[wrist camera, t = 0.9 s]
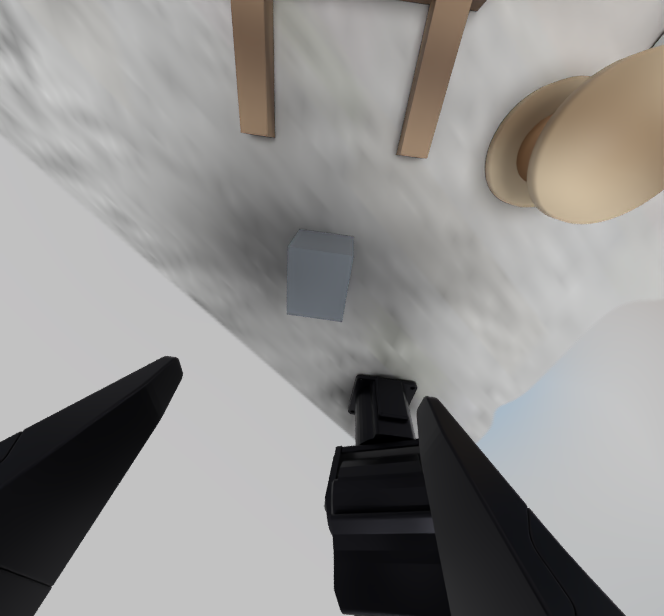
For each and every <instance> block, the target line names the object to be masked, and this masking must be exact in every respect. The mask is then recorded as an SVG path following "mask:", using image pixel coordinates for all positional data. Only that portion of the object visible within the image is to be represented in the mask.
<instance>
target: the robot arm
mask: <svg viewBox="0 0 664 616" xmlns="http://www.w3.org/2000/svg"><path fill="white" fill-rule="evenodd" d="M182 376H183V372H182V368H181V365H180V362H179V359H178V358H176V357H171V356H164V357H162V358H160V359H158V360H156V361H154V362H152V363H151V364H148V365H147V366H145V367H143V368H141V369H139V370H137V371H135V372H133V373H131V374H129V375H127V376H126V377H124V378H122V379H120V380H118V381H116V382H115V383H112V384H110V385H109V386H107V387H105V388H103V389H101V390H99V391H97V392H95V393H93V394H91V395H89V396H87V397H85V398H84V399H82V400H80V401H78V402H76V403H74V404H72V405H70V406H68V407H66V408H64V409H63V410H61V411H59V412H57V413H55V414H53V415H51V416H49V417H47V418H45V419H43V420H42V421H40V422H38V423H36V424H34V425H32V426H30V427H28V428H26V429H25V430H24V431H23V432H19V433H16V434H15V435H13V436H11V437H9V438H7V439H5V440H3V441H1V442H0V616H34V615H35V613H36V611H37V610H38V608H39V607H40V605H41V604H42V602H43V601H44V599H45V598H46V596H47V594H48V593H49V591H50V590H51V588H52V587H51V586H53V585H54V583H55V582H56V580H57V579H58V577H59V576H60V574H61V572H62V571H63V569H64V568H65V566H66V564H67V563H68V562H69V560H70V559H71V557H72V556H73V554H74V552H75V551H76V549H77V548H78V546H79V545H80V543H81V542H82V540H83V539H84V537H85V535H86V534H87V532H88V531H89V529H90V528H91V526H92V525H93V523H94V522H95V520H96V518H97V517H98V515H99V514H100V512H101V511H102V509H103V508H104V506H105V505H106V503H107V501H108V500H109V498H110V497H111V495H112V494H113V492H114V491H115V489H116V488H117V486H118V485H119V483H120V482H121V480H122V478H123V477H124V475H125V474H126V472H127V471H128V469H129V468H130V466H131V465H132V463H133V462H134V460H135V458H136V457H137V455H138V454H139V452H140V451H141V449H142V448H143V446H144V444H145V443H146V441H147V440H148V438H149V437H150V435H151V434H152V432H153V431H154V429H155V428H156V426H157V424H158V423H159V421H160V420H161V418H162V416H163V414H164V412H165V410H166V408H167V407H168V405H169V403H170V401H171V399H172V397H173V395H174V393H175V391H176V389H177V387H178V385H179V383H180V381H181V379H182ZM416 390H417V385H416V383H415V382H409V381H402V380H394V379H387V378H380V377H373V376H365V375H358V376H357V377H356V380H355V384H354V388H353V392H352V396H351V399H350V403H349V407H348V412H349V413H350V414H355V433H356V446H347V447H342V446H337V447H336V450H335V455H334V457H333V462H332V467H331V471H330V476H329V481H328V486H327V491H326V496H325V511H326V512H327V520H328V526H329V529H330V532H331V534H332V536H333V549H334V591H335V594H336V597H337V601H338V604H339V607H340V610H341V612H342V613H343V614H347V615H354V616H625V614H624V613H623V612H622V611H621V610H620V609H619V608H618V607H617V606H616V605H615V604H614V603H613V602H612V600H611V599H610V598H609V597H608V596H607V595H606V594H605V593H604V592H603V591H602V590H601V589H600V588H599V587H598V585H597V584H596V583H595V582H594V581H593V580H592V579H591V578H590V577H589V576H588V575H587V573H586V572H585V571H584V570H583V569H582V568H581V567H580V566H579V565H578V564H577V563H576V561H575V560H574V559H573V558H572V557H571V556H570V555H569V554H568V552H566V550H565V549H564V548H563V547H562V546H561V545H560V543H559V542H558V541H557V540H556V539H555V538H554V536H553V535H552V534H551V533H550V532H549V531H548V530H547V528H546V527H545V526H544V525H543V524H542V523H541V521H540V520H539V519H538V518H537V517H536V515H535V514H534V513H533V512H532V511H531V509H530V508H527V505H526V504H525V502H524V501H523V500H522V499H521V498H520V496H519V495H518V494H517V493H516V492H515V490H514V489H513V488H512V487H511V486H510V485H509V483H508V482H507V481H506V480H505V478H504V477H503V476H502V475H501V474H500V473H499V471H498V470H497V469H496V468H495V467H494V465H493V464H492V463H491V462H490V461H489V459H488V458H487V457H486V456H485V455H484V453H483V452H482V451H481V450H480V449H479V447H478V446H477V445H476V444H475V443H474V441H473V440H472V439H471V438H470V437H469V435H468V434H467V433H466V432H465V431H464V429H463V428H462V427H461V426H460V425H459V423H458V422H457V421H456V420H455V419H454V417H453V416H452V415H451V414H450V413H449V412H448V410H447V409H446V408H445V407H444V406H443V404H442V403H441V402H440V401H439V400H438V399H437V398H435V397H429V396H425V397H424V398H423V400H422V402H421V404H420V405H419V407H418V409H417V425H418V436H419V439H416V437H415V433H414V428H413V424H412V419H411V415H410V410H409V404H410V402H411V400H412V398H413V396H414V394H415V392H416Z"/></svg>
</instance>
